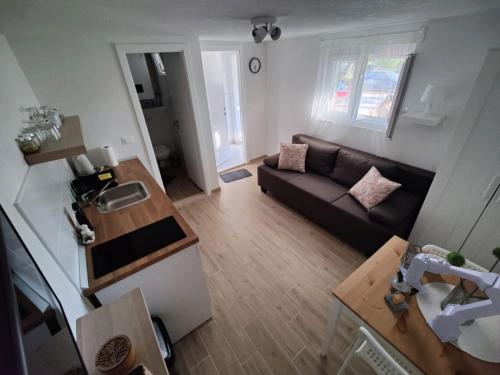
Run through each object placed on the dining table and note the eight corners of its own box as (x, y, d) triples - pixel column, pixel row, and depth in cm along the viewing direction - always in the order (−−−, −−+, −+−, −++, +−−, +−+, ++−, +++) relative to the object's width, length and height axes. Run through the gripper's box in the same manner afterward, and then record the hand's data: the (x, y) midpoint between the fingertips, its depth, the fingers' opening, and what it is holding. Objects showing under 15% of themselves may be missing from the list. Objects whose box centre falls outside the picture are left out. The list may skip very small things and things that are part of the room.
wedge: (400, 304, 115) (405, 297, 112) (393, 306, 115) (397, 299, 111) (397, 300, 117) (401, 293, 114) (390, 302, 117) (394, 294, 113)
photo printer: (437, 270, 132) (446, 257, 125) (438, 275, 128) (447, 262, 122) (417, 263, 136) (425, 250, 129) (418, 269, 133) (425, 256, 126)
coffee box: (413, 273, 130) (423, 256, 122) (401, 270, 133) (410, 253, 124) (411, 262, 137) (421, 245, 128) (399, 259, 140) (408, 242, 131)
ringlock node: (423, 306, 114) (428, 299, 110) (394, 312, 113) (398, 305, 109) (399, 278, 128) (403, 271, 125) (373, 283, 127) (376, 276, 123)
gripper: (396, 262, 112) (388, 278, 119) (419, 287, 99) (409, 303, 107) (408, 260, 112) (400, 275, 120) (432, 284, 100) (421, 300, 108)
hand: (405, 288), depth 113 cm, fingers open, 7 cm apart
